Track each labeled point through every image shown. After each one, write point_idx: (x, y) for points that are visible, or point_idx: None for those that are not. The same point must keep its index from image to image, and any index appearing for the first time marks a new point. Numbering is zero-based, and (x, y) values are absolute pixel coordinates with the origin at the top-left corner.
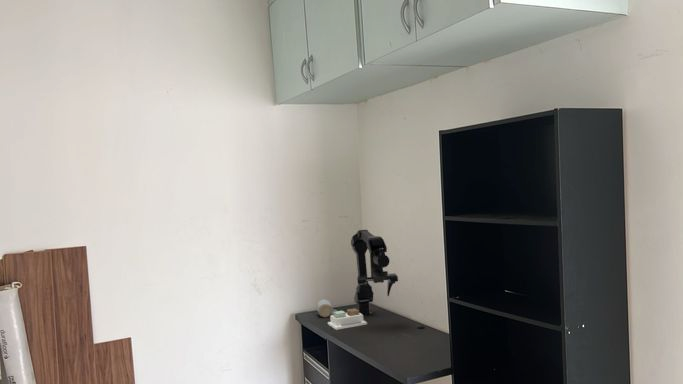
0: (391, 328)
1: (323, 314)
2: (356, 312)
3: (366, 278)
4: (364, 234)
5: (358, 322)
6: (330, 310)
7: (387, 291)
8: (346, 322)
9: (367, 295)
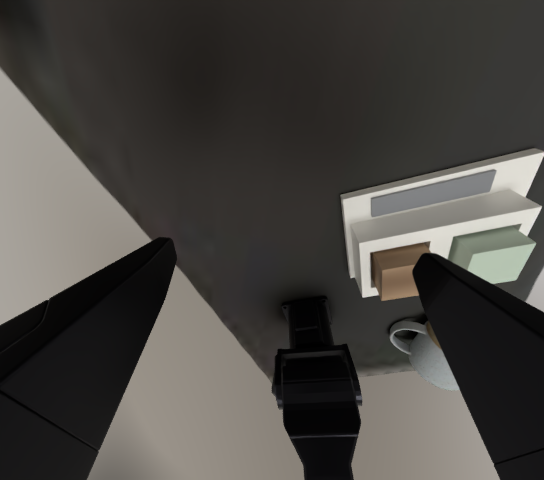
0: (224, 58)
1: None
2: (394, 260)
3: None
4: None
5: (389, 199)
6: None
7: (149, 303)
8: (451, 207)
9: (467, 270)
